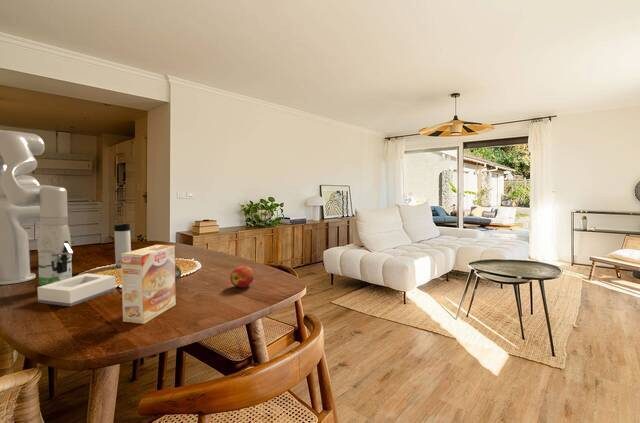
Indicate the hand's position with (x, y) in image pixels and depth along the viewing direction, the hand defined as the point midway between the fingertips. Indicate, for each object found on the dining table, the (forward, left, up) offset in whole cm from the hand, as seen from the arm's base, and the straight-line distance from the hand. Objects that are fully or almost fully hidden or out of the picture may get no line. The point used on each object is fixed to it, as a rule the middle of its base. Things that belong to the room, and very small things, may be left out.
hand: (55, 270), depth 117 cm
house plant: (-34, +28, -7) cm, 45 cm away
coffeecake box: (+48, -9, -7) cm, 49 cm away
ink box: (0, 0, -4) cm, 4 cm away
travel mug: (-4, +34, -7) cm, 35 cm away
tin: (+32, +14, -7) cm, 36 cm away
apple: (+63, +21, -7) cm, 67 cm away
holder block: (+14, -3, -7) cm, 16 cm away
